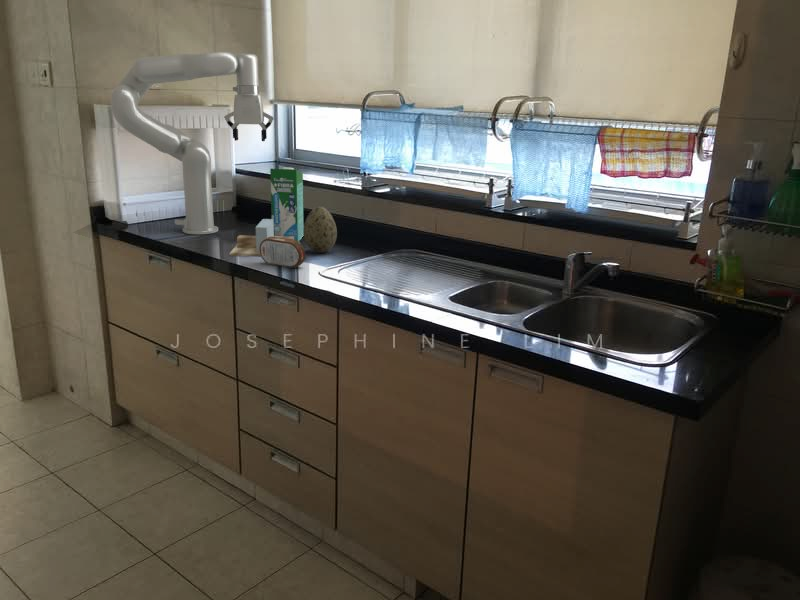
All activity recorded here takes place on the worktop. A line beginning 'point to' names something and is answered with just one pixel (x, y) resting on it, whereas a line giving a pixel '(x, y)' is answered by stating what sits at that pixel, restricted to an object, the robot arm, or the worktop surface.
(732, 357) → the worktop surface
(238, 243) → the straw hat
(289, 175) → the milk carton
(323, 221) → the decorative egg
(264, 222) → the pale blue notched block
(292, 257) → the tin
